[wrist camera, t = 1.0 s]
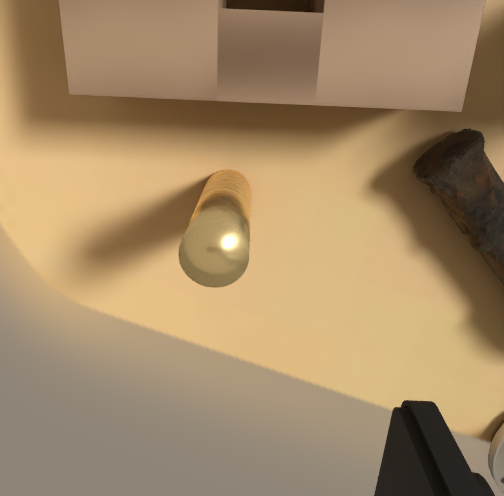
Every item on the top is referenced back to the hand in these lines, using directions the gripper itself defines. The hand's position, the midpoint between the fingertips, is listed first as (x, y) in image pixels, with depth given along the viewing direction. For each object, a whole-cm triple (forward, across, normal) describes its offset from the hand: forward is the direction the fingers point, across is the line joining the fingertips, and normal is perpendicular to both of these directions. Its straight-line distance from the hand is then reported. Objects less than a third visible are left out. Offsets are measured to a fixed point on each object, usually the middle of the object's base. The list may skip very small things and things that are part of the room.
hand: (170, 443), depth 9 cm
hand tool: (+21, -19, +3) cm, 28 cm away
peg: (+20, 0, 0) cm, 20 cm away
